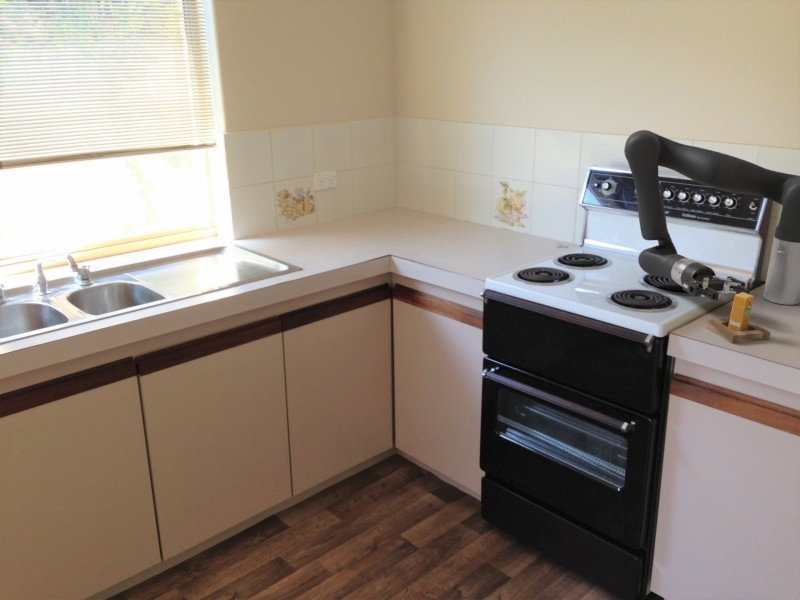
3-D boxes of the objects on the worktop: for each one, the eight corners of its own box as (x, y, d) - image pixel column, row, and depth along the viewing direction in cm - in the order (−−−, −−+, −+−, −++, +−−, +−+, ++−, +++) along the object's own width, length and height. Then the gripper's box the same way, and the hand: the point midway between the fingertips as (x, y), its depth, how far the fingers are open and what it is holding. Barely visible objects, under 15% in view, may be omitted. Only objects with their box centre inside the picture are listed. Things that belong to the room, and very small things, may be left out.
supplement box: (739, 337, 174) (746, 298, 171) (726, 332, 177) (733, 294, 173) (747, 334, 176) (754, 295, 173) (734, 330, 179) (741, 291, 175)
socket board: (741, 324, 182) (742, 317, 181) (769, 340, 173) (770, 332, 172) (706, 327, 180) (707, 320, 179) (732, 343, 171) (733, 335, 170)
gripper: (670, 263, 189) (709, 283, 174) (718, 260, 192) (760, 279, 177) (666, 291, 192) (704, 312, 177) (714, 287, 195) (755, 307, 180)
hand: (732, 295), depth 177 cm, fingers open, 8 cm apart
